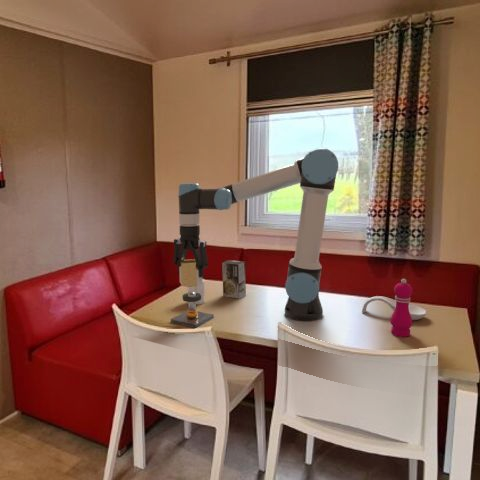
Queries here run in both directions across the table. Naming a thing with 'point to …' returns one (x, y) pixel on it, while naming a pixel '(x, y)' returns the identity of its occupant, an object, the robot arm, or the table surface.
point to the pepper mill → (402, 310)
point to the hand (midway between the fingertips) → (190, 283)
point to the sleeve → (188, 273)
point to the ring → (191, 299)
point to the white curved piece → (413, 310)
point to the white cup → (199, 291)
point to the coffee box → (234, 279)
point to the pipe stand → (192, 315)
